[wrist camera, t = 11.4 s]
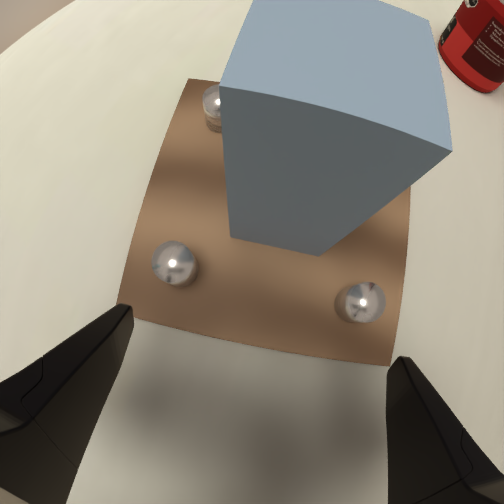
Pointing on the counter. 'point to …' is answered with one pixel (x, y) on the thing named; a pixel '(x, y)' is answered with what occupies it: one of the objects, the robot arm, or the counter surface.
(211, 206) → the peg stand
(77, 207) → the counter surface
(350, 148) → the slate blue block
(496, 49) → the canned food
